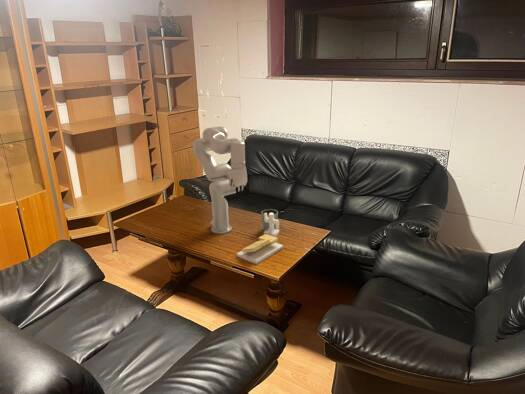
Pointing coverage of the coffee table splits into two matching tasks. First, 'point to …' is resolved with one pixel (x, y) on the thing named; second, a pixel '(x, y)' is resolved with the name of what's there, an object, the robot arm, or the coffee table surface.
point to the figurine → (271, 225)
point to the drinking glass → (265, 224)
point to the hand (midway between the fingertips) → (239, 197)
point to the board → (261, 253)
